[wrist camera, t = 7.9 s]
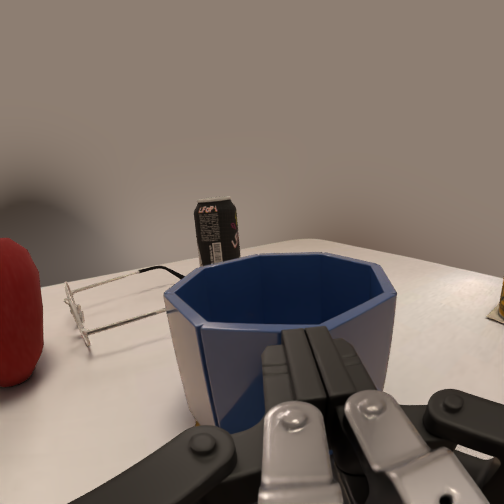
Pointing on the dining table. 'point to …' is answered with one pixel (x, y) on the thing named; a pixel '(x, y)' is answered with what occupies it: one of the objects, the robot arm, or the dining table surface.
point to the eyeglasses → (80, 319)
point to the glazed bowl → (270, 324)
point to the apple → (19, 314)
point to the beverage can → (216, 230)
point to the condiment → (498, 309)
